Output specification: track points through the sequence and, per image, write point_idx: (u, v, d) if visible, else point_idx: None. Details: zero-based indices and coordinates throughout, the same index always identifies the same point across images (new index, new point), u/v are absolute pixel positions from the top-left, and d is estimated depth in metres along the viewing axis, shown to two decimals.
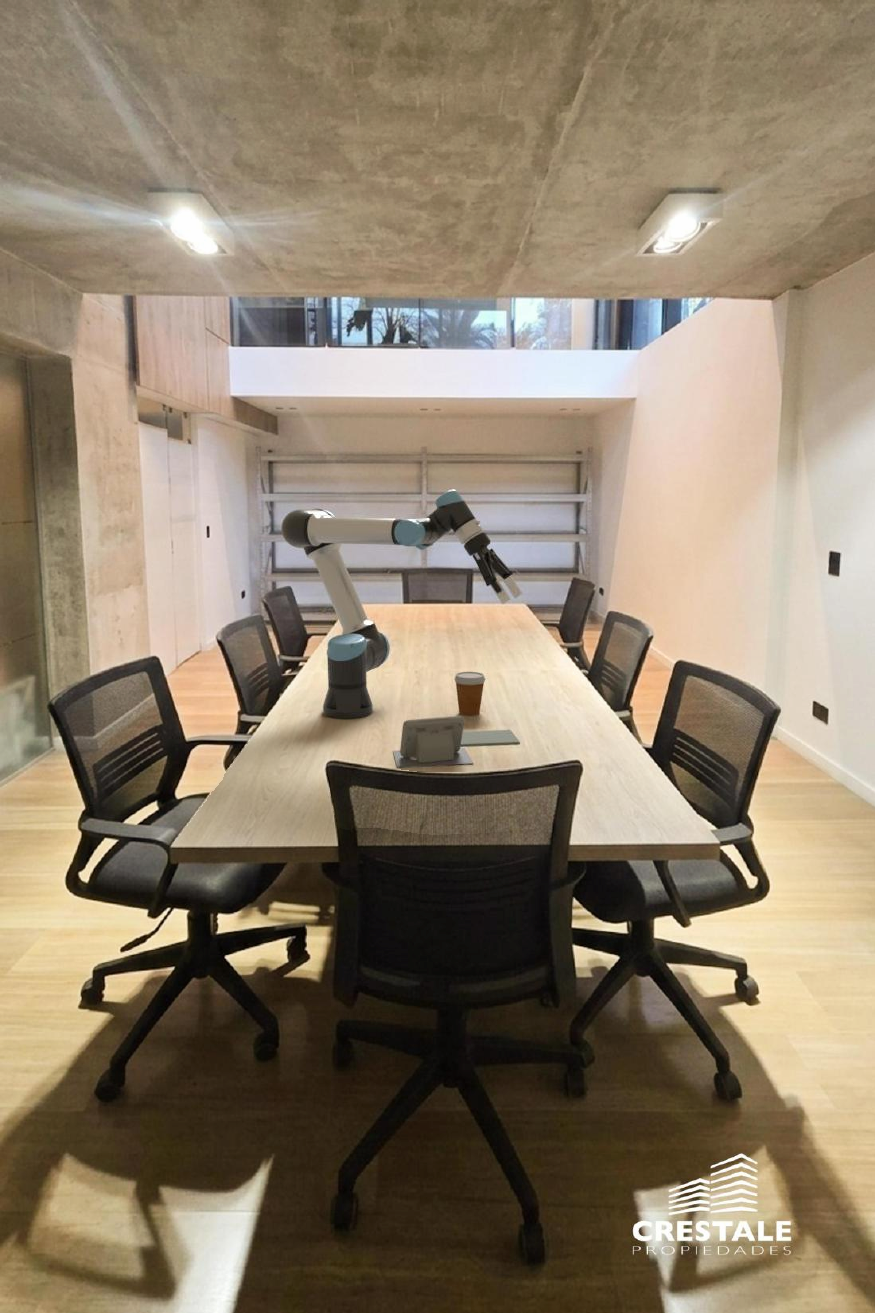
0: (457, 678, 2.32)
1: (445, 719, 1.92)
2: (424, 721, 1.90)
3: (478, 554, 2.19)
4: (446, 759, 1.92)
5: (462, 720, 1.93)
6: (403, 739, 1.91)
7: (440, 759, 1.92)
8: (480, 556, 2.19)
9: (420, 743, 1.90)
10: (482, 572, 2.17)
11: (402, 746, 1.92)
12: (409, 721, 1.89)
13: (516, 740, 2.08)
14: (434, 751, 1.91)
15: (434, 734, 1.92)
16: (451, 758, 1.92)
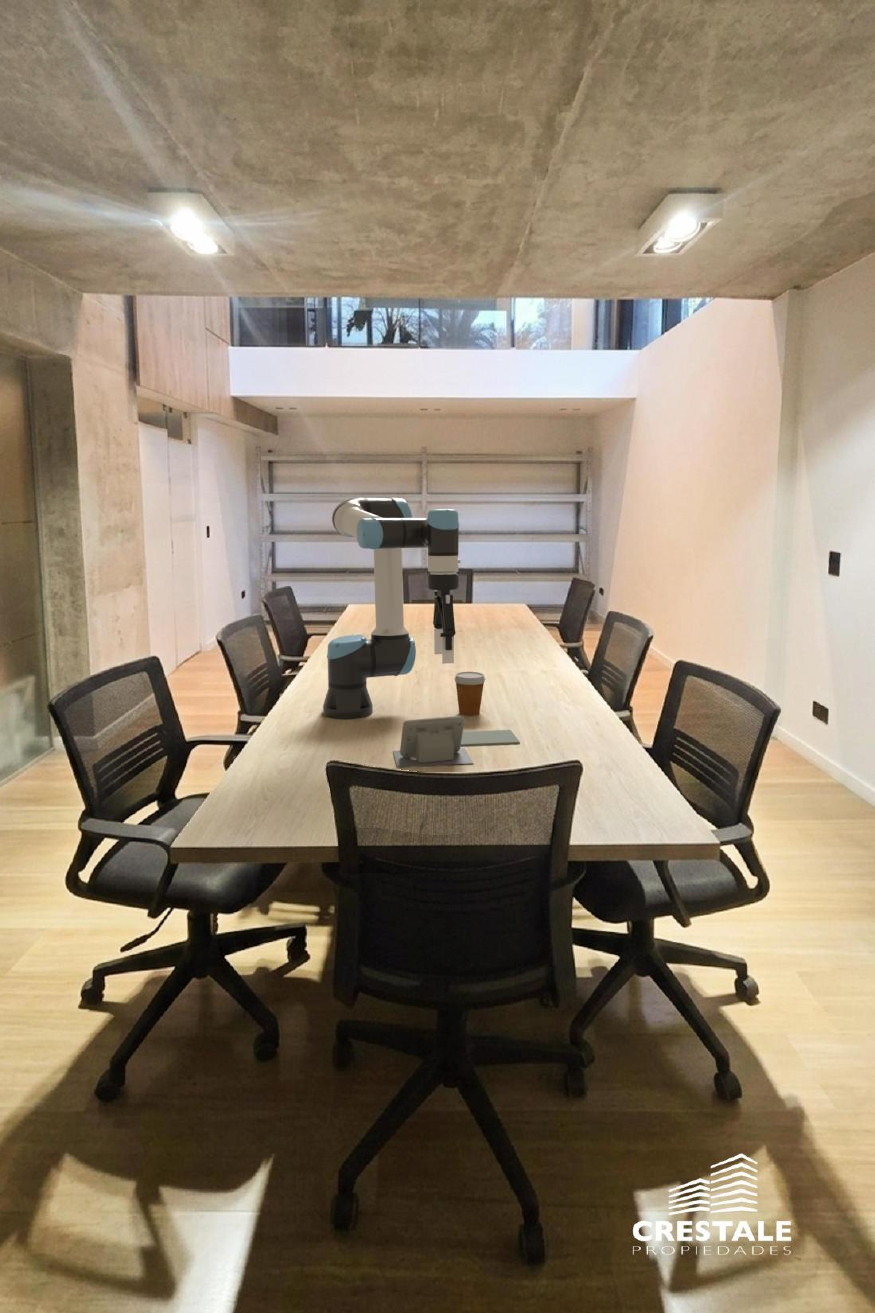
0: (457, 678, 2.32)
1: (445, 719, 1.92)
2: (424, 721, 1.90)
3: (450, 598, 1.83)
4: (446, 759, 1.92)
5: (462, 720, 1.93)
6: (403, 739, 1.91)
7: (440, 759, 1.92)
8: (451, 601, 1.83)
9: (420, 743, 1.90)
10: (446, 620, 1.81)
11: (402, 746, 1.92)
12: (409, 721, 1.89)
13: (516, 740, 2.08)
14: (434, 751, 1.91)
15: (434, 734, 1.92)
16: (451, 758, 1.92)
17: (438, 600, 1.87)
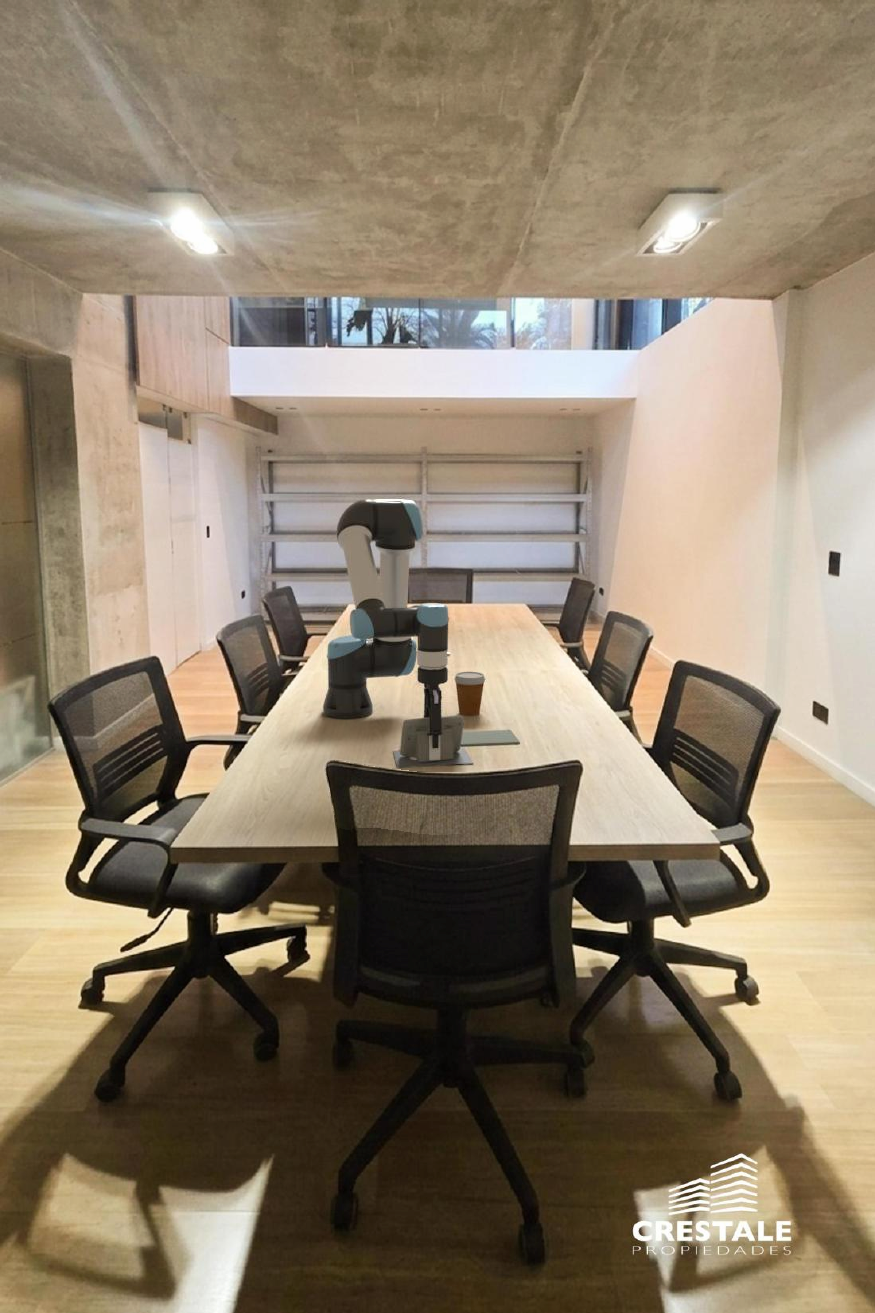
0: (457, 678, 2.32)
1: (445, 718, 1.92)
2: (424, 720, 1.91)
3: (438, 699, 1.85)
4: (446, 758, 1.92)
5: (462, 719, 1.93)
6: (403, 738, 1.92)
7: (440, 758, 1.92)
8: (439, 702, 1.86)
9: (420, 742, 1.90)
10: (433, 721, 1.86)
11: (402, 745, 1.93)
12: (409, 720, 1.90)
13: (516, 740, 2.08)
14: None
15: None
16: (451, 757, 1.93)
17: (427, 694, 1.90)
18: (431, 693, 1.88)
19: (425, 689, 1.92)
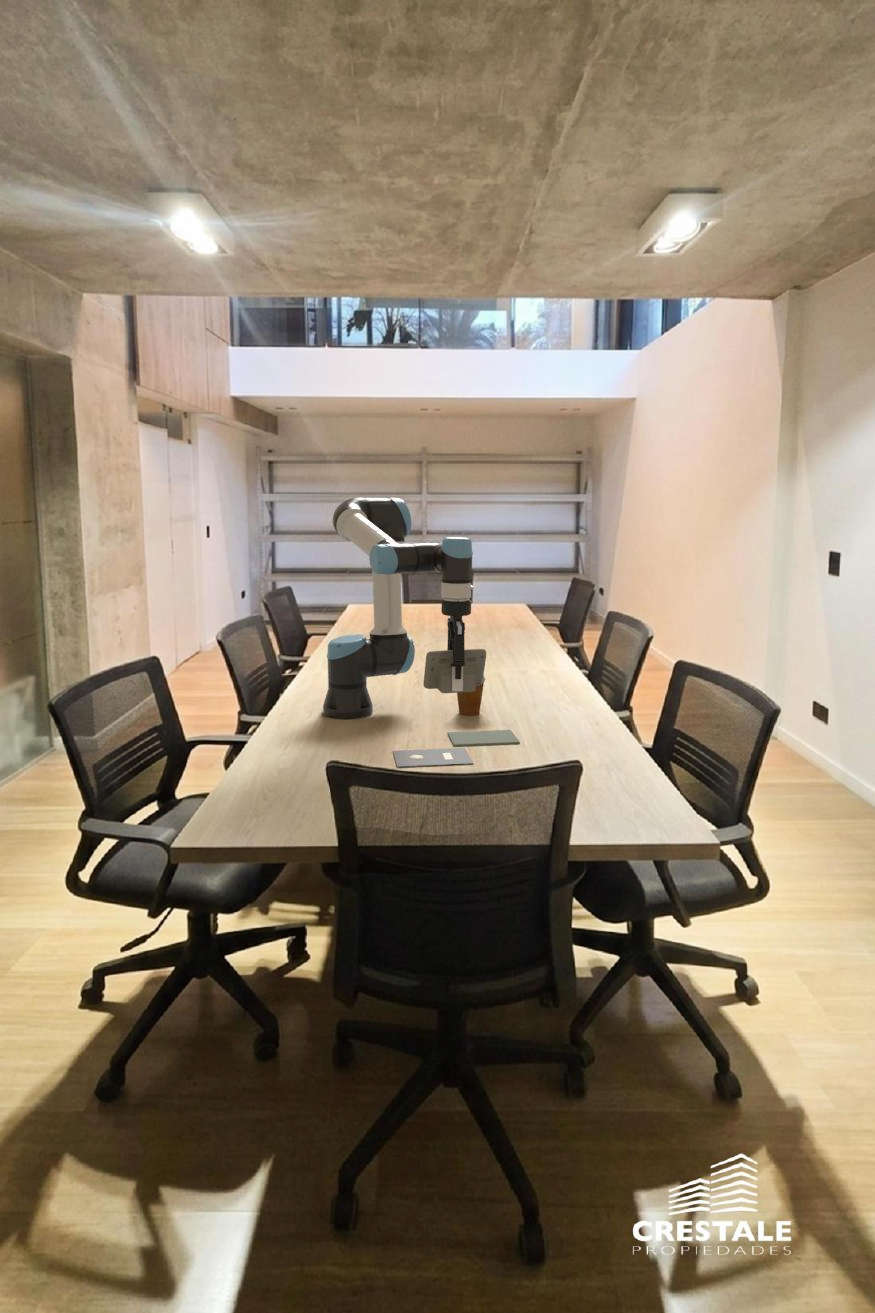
0: None
1: (467, 651, 1.96)
2: (447, 652, 1.94)
3: (462, 630, 1.89)
4: (468, 690, 1.96)
5: (484, 652, 1.97)
6: (426, 670, 1.96)
7: None
8: (462, 633, 1.89)
9: (443, 674, 1.94)
10: (456, 652, 1.90)
11: (425, 677, 1.97)
12: (432, 652, 1.94)
13: (516, 740, 2.08)
14: None
15: None
16: (473, 689, 1.96)
17: (451, 626, 1.93)
18: (455, 624, 1.91)
19: (449, 622, 1.96)
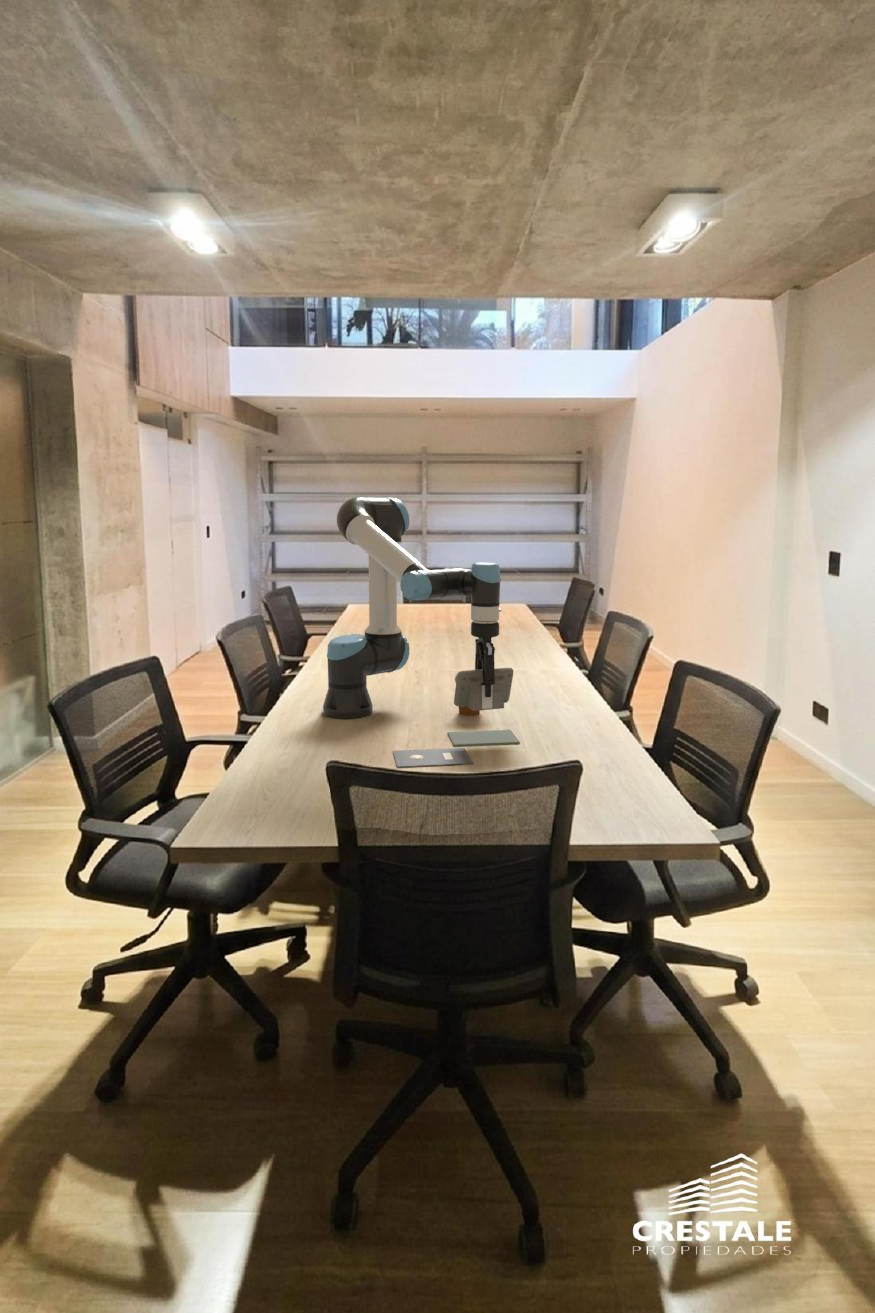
0: None
1: (496, 670, 2.06)
2: (477, 671, 2.05)
3: (492, 650, 1.99)
4: (497, 707, 2.07)
5: (511, 671, 2.08)
6: (457, 689, 2.06)
7: (492, 707, 2.06)
8: (492, 653, 2.00)
9: (473, 692, 2.05)
10: (487, 671, 2.00)
11: (456, 696, 2.07)
12: (463, 671, 2.04)
13: (516, 740, 2.08)
14: None
15: None
16: (502, 706, 2.07)
17: (480, 647, 2.04)
18: (484, 645, 2.02)
19: (478, 643, 2.06)
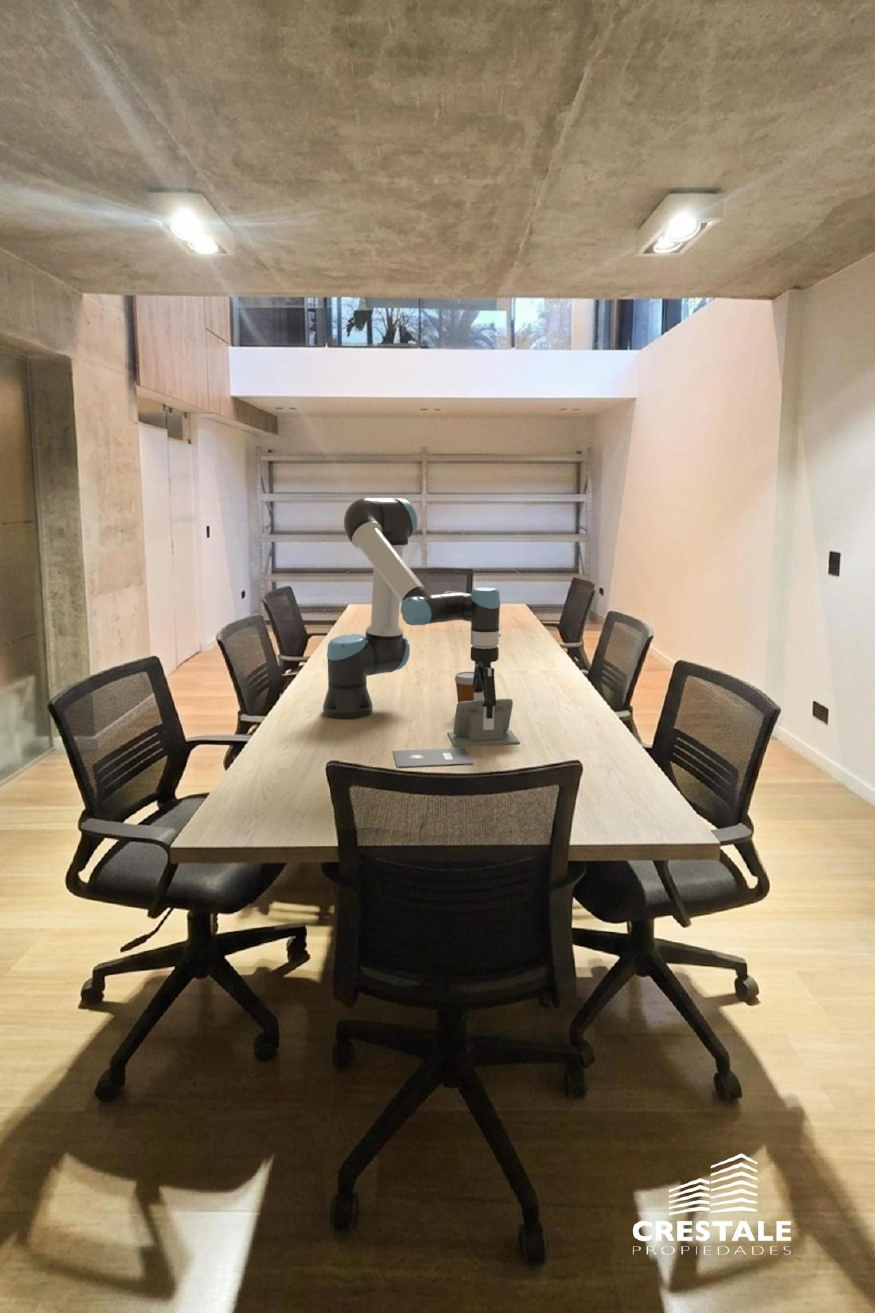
0: (457, 678, 2.32)
1: None
2: (476, 703, 2.07)
3: (491, 671, 2.00)
4: (496, 738, 2.08)
5: (511, 702, 2.09)
6: (456, 719, 2.08)
7: (490, 738, 2.08)
8: (492, 674, 2.01)
9: (472, 723, 2.06)
10: (488, 692, 1.99)
11: (455, 726, 2.09)
12: (462, 702, 2.06)
13: (516, 740, 2.08)
14: (485, 731, 2.07)
15: None
16: (500, 737, 2.09)
17: (480, 671, 2.05)
18: (484, 669, 2.03)
19: (477, 668, 2.08)
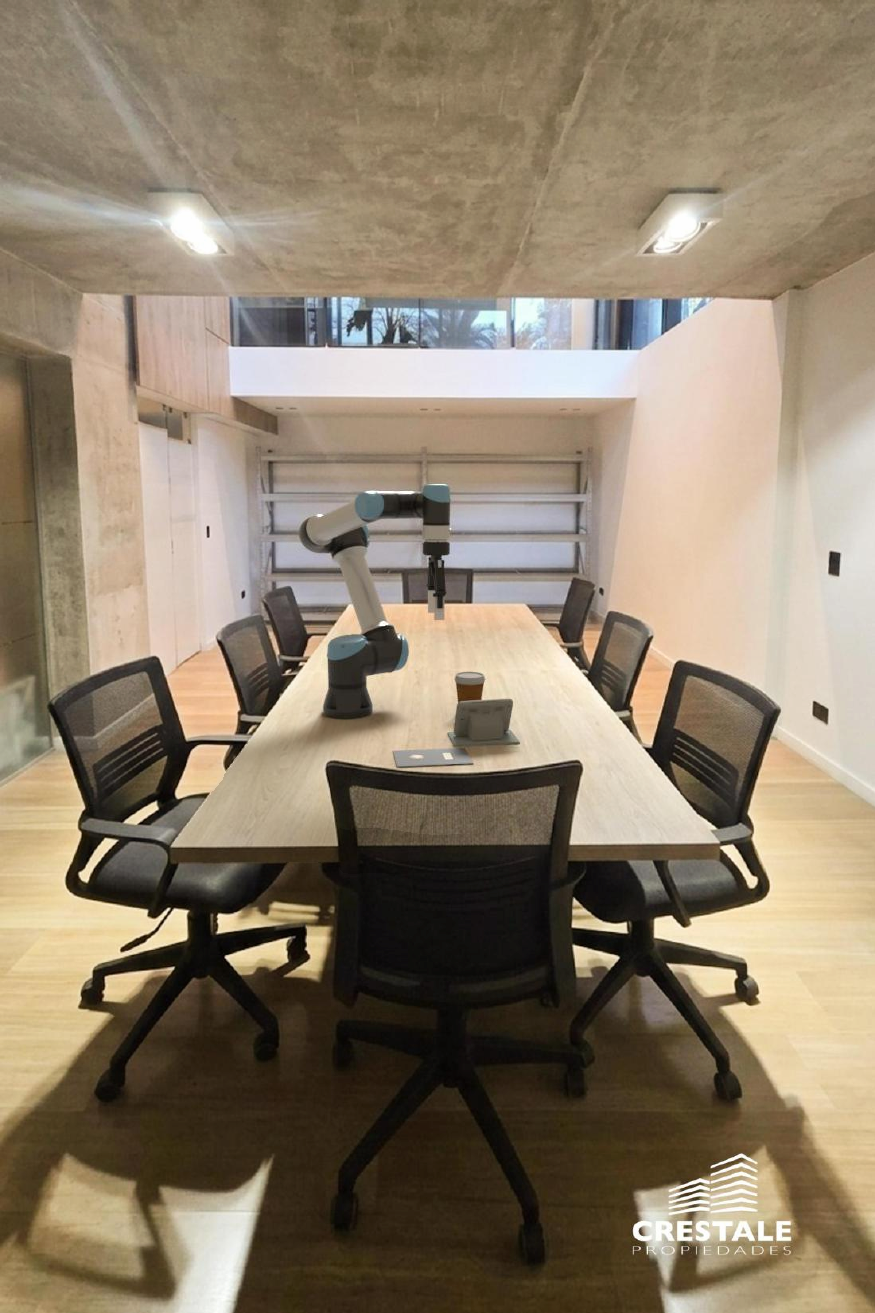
0: (457, 678, 2.32)
1: (495, 701, 2.08)
2: (476, 702, 2.07)
3: (441, 562, 2.09)
4: (496, 738, 2.08)
5: (511, 702, 2.09)
6: (457, 719, 2.08)
7: (490, 738, 2.08)
8: (442, 565, 2.09)
9: (472, 723, 2.07)
10: (438, 582, 2.08)
11: (456, 725, 2.09)
12: (462, 702, 2.06)
13: (516, 740, 2.08)
14: (485, 731, 2.07)
15: (485, 715, 2.08)
16: (501, 737, 2.09)
17: (431, 564, 2.13)
18: None
19: (429, 562, 2.16)
